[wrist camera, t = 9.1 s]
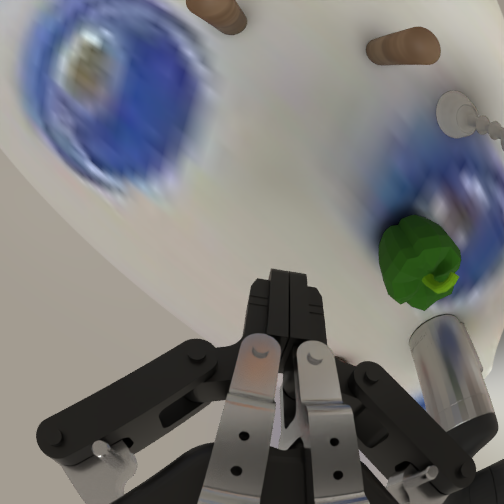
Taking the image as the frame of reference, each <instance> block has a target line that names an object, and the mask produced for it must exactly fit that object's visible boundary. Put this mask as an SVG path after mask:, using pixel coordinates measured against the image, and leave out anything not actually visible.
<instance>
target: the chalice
mask: <svg viewBox="0 0 504 504" xmlns="http://www.w3.org/2000/svg"><path fill="white" fill-rule="evenodd" d="M436 116H437V122H438V124H439V126H440V128H441V130H442V131H443V132H444V133H445V134H446V135H448V136H449V137H452V138H462V137H466V136H470V135H471V134H473V133H474V132H475V130H476V129H477V131H478V133H479V134H481V135H484V134H486V133H487V132H488V133H489V136H490V137H491V138H492V139H494V140H496V139H501V145H502V149H503V151H504V128H502V127H501V125H500V124H499V123H498V122H496V121H493V122H492V123H490V122H489V120H488V118H487V117H486V116H480V117H479V116H478V112H477V109H476V107H475V106H474V105H473V104H472V103H471V101H470V100H469V99H468V98H467V96H465V95H464V94H463V93H461V92H458V91H448V92H447V93H445V94H443V95H442V97H441V98H440V99H439V101H438V104H437V109H436Z"/></svg>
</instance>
